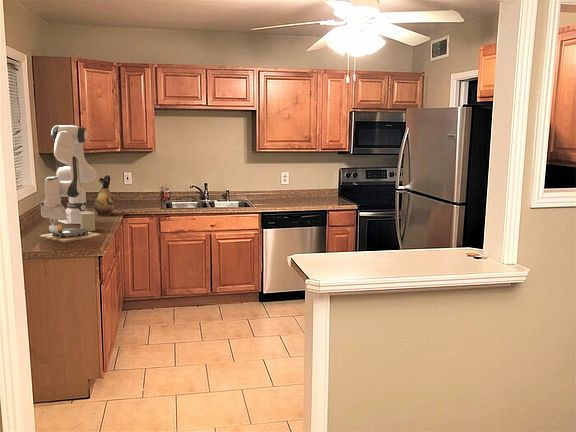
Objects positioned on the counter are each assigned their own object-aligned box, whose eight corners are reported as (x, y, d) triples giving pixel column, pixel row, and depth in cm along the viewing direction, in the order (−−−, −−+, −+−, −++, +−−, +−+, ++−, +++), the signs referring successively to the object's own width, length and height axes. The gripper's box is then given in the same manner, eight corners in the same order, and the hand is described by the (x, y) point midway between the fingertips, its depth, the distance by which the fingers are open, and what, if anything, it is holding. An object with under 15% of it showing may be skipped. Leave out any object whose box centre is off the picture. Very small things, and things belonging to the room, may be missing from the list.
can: (97, 230, 352) (97, 212, 350) (84, 232, 346) (83, 213, 344) (91, 228, 359) (91, 210, 357) (78, 229, 352) (77, 211, 350)
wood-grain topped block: (49, 231, 344) (48, 225, 343) (53, 231, 347) (53, 224, 346) (55, 233, 341) (54, 226, 340) (59, 232, 343) (58, 226, 343)
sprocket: (45, 234, 329) (44, 223, 327) (74, 229, 346) (73, 218, 345) (66, 239, 318) (65, 227, 317) (95, 233, 335) (94, 222, 334)
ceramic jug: (108, 217, 401) (107, 176, 396) (90, 215, 404) (88, 175, 399) (120, 213, 417) (119, 174, 412) (102, 212, 420) (100, 174, 415)
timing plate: (39, 236, 328) (39, 230, 327) (74, 230, 349) (74, 224, 348) (65, 242, 315) (65, 235, 314) (100, 235, 336) (100, 229, 335)
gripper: (68, 204, 324) (69, 227, 327) (47, 201, 335) (48, 223, 337) (59, 205, 319) (60, 228, 321) (38, 202, 330) (39, 224, 332)
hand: (54, 226), depth 329 cm, fingers closed
